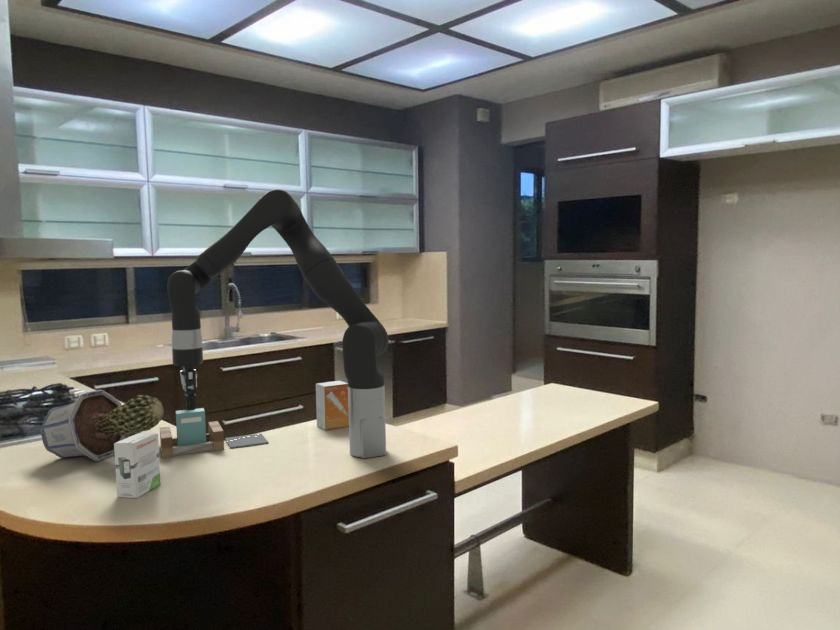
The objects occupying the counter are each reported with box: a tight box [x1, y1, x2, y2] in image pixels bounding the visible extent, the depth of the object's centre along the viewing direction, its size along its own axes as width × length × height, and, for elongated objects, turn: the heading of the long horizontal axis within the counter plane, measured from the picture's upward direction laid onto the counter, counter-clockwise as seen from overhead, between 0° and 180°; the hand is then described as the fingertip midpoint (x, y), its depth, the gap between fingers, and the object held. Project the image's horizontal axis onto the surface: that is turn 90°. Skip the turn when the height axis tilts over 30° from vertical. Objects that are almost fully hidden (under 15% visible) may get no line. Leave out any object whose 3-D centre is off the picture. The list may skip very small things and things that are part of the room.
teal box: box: [175, 407, 207, 446], centre depth 164 cm, size 4×7×10 cm, turn 115°
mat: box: [224, 433, 269, 449], centre depth 169 cm, size 10×10×1 cm
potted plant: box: [40, 389, 165, 462], centre depth 156 cm, size 18×18×30 cm
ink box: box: [114, 432, 161, 499], centre depth 132 cm, size 9×5×12 cm, turn 169°
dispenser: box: [159, 420, 225, 459], centre depth 164 cm, size 12×15×5 cm
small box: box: [315, 380, 349, 431], centre depth 183 cm, size 8×6×13 cm
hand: (189, 406), depth 164 cm, fingers open, 8 cm apart
